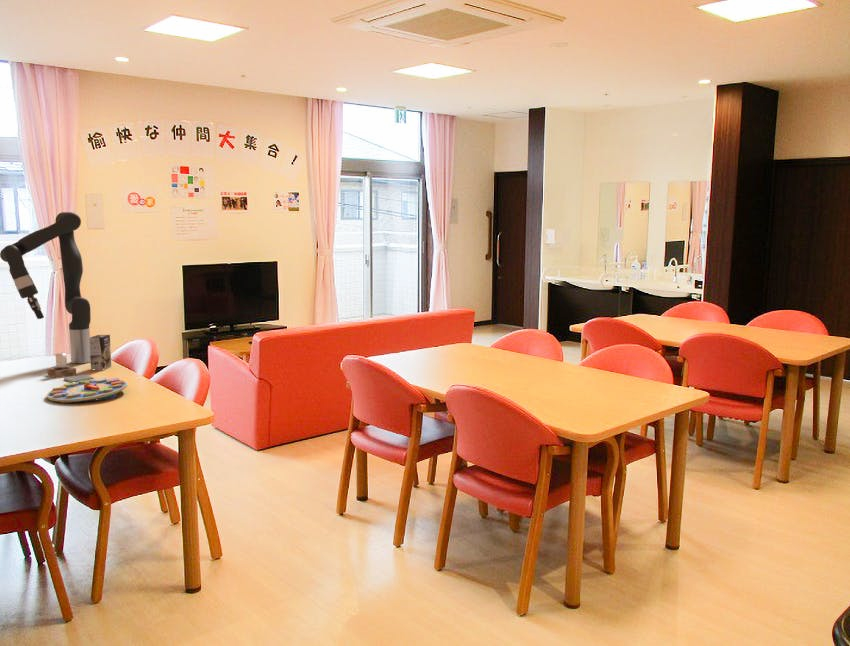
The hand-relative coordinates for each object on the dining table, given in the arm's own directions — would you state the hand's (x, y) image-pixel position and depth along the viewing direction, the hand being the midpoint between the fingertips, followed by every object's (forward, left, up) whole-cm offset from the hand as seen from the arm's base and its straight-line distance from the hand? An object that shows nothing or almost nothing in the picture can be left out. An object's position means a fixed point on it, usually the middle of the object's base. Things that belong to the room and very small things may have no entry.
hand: (41, 318), depth 341 cm
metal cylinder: (-2, +14, -26) cm, 29 cm away
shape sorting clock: (+9, +60, -26) cm, 66 cm away
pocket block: (-2, +14, -26) cm, 29 cm away
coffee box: (-21, +14, -26) cm, 36 cm away
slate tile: (-2, +30, -26) cm, 39 cm away
